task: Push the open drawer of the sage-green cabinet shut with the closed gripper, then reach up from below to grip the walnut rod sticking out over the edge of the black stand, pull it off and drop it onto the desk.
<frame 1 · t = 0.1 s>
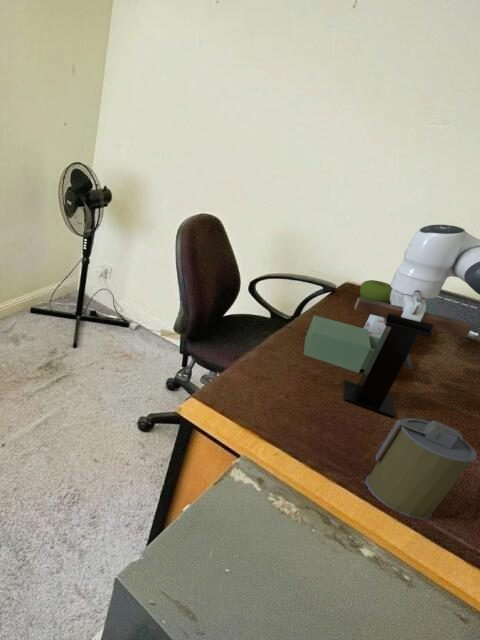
hand: (394, 329, 112), 20 cm above the table, tool pointing down, fingers open, 6 cm apart
ink box: (375, 347, 137), on the table
drawer: (372, 353, 126), point 5 cm above the table, slide at 5.0 cm
stand: (366, 400, 114), on the table
canister: (395, 496, 88), on the table
rod: (406, 321, 104), point 26 cm above the table, touching stand
cabinet: (329, 355, 133), on the table
apple: (371, 304, 165), on the table
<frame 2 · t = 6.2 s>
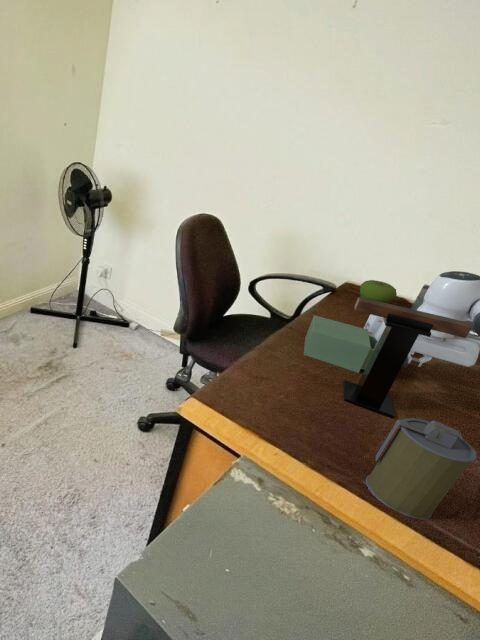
hand: (412, 364, 121), 5 cm above the table, tool pointing down, fingers closed
drawer: (367, 352, 127), point 5 cm above the table, slide at 4.0 cm, touching gripper
everything else where it was.
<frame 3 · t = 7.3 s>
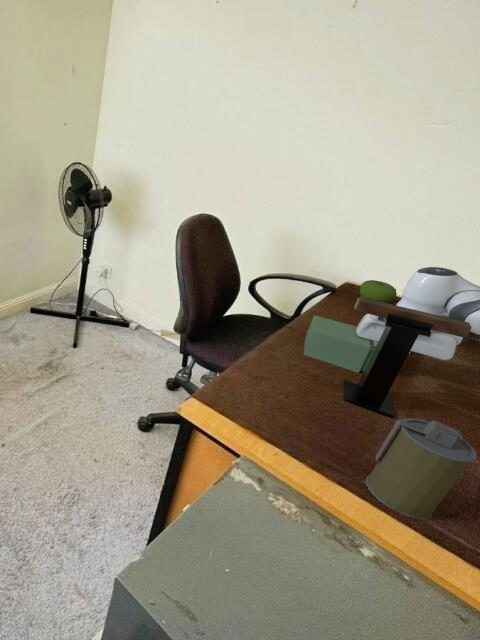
hand: (393, 358, 123), 5 cm above the table, tool pointing down, fingers closed
drawer: (350, 347, 129), point 5 cm above the table, slide at 0.0 cm, touching cabinet, gripper
everything else where it was.
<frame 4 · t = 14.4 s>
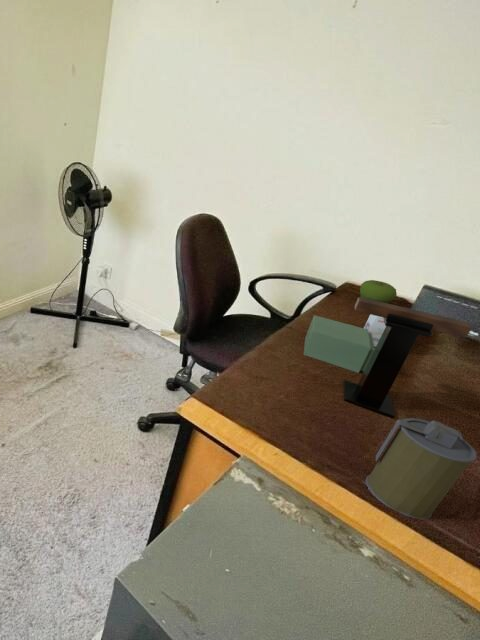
drawer: (350, 347, 129), point 5 cm above the table, slide at 0.0 cm
everything else where it was.
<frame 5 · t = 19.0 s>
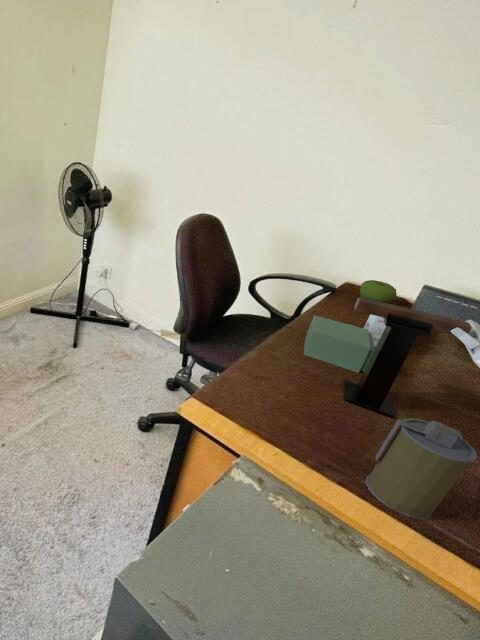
hand: (451, 324, 99), 28 cm above the table, tool pointing upward, fingers closed on rod, 3 cm apart
rod: (406, 321, 104), point 26 cm above the table, touching gripper, stand
everything else where it was.
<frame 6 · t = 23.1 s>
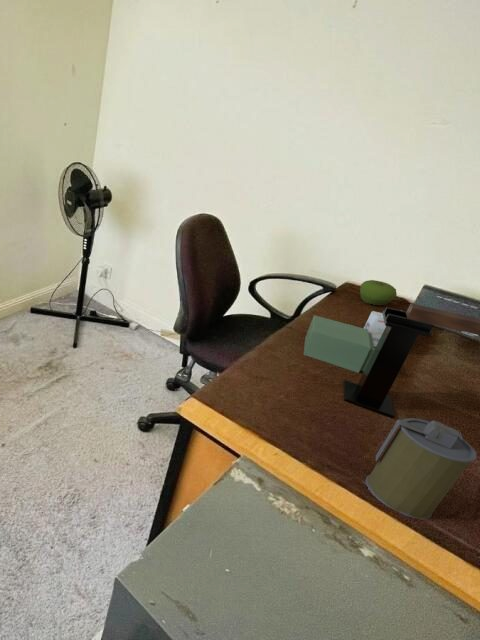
rod: (465, 329, 96), point 28 cm above the table, touching gripper
everything else where it was.
when the fingers open (20 cm above the table, at t = 27.2 s): rod drops 18 cm, on the table.
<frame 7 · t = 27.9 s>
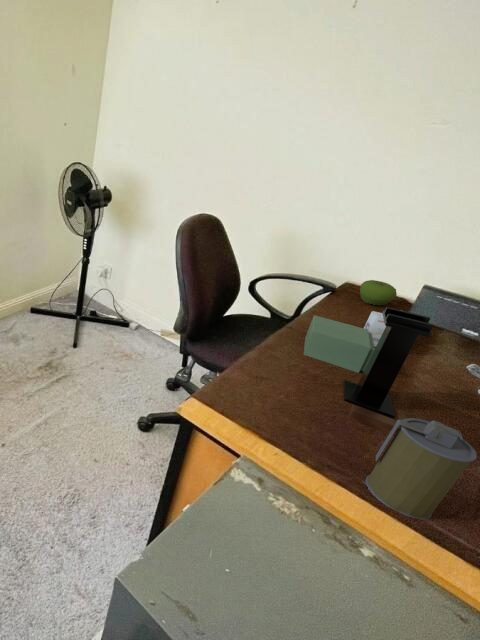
hand: (475, 377, 91), 22 cm above the table, tool pointing upward, fingers open, 8 cm apart
rod: (400, 435, 103), on the table
everything else where it was.
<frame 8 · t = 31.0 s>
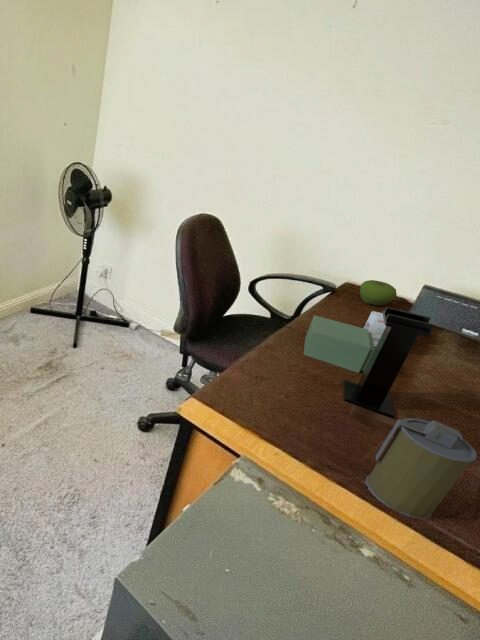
nothing on the table moved.
at the end: drawer slide at 0.0 cm; rod on the table; the gripper is holding nothing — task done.
